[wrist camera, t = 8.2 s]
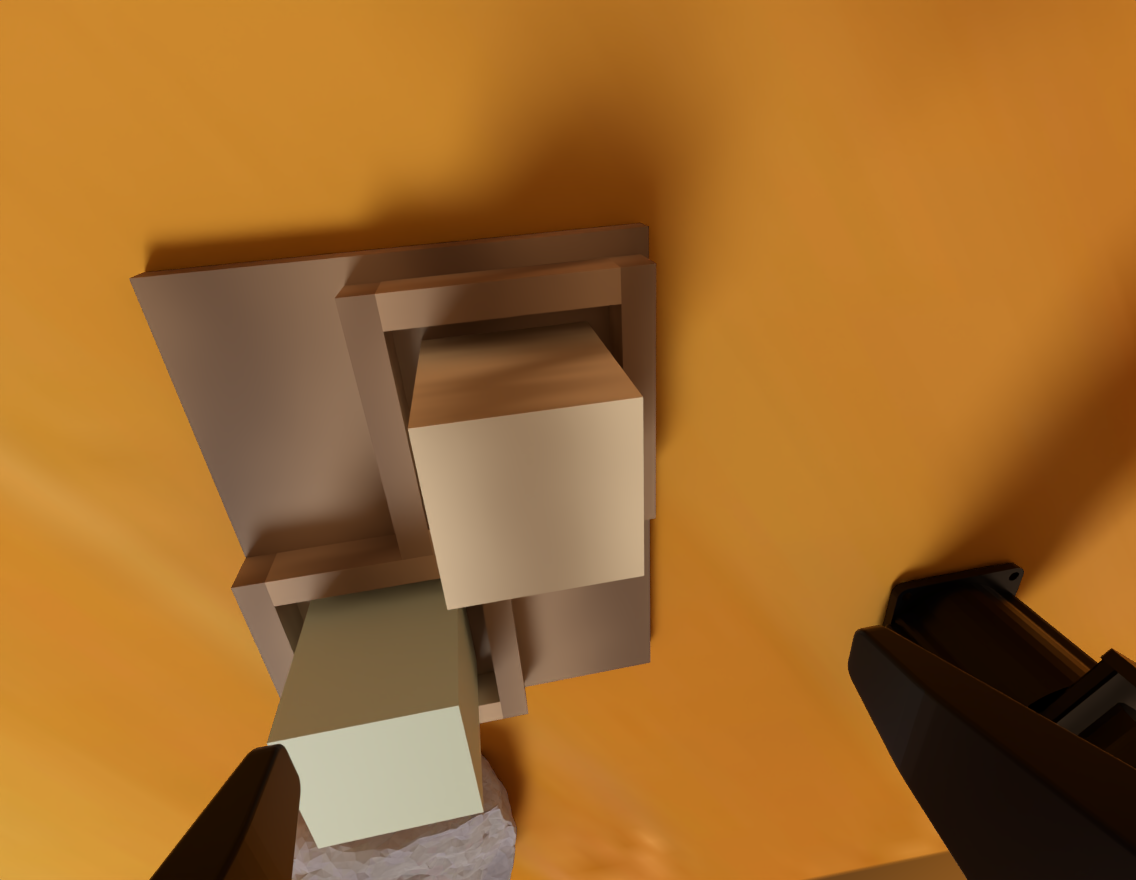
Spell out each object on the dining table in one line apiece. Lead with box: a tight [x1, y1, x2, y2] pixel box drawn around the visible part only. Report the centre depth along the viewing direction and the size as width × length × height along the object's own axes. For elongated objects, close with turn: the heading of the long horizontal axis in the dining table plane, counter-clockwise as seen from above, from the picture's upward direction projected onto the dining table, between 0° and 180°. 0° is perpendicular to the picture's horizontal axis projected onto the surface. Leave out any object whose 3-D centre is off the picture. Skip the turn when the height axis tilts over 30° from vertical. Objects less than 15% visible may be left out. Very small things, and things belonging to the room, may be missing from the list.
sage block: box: [267, 578, 484, 848], centre depth 19 cm, size 5×5×6 cm
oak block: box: [408, 321, 644, 610], centre depth 16 cm, size 5×5×6 cm
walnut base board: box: [129, 223, 656, 723], centre depth 20 cm, size 14×18×2 cm
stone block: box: [292, 754, 517, 880], centre depth 28 cm, size 12×5×10 cm
